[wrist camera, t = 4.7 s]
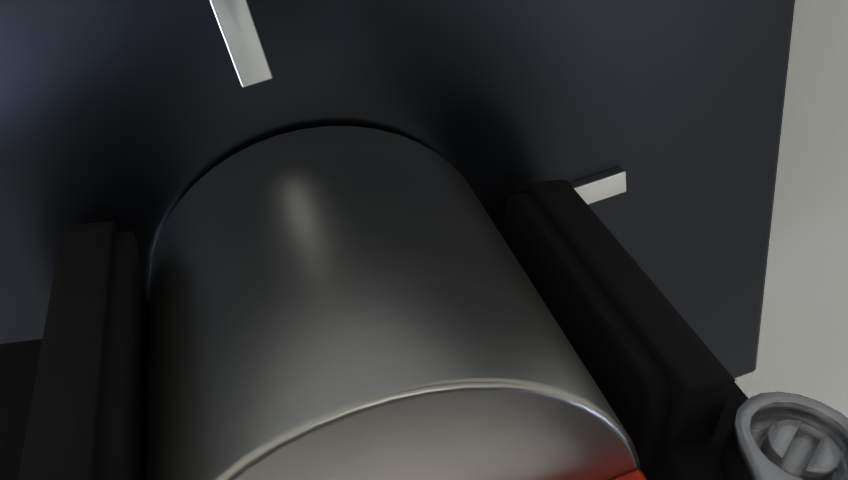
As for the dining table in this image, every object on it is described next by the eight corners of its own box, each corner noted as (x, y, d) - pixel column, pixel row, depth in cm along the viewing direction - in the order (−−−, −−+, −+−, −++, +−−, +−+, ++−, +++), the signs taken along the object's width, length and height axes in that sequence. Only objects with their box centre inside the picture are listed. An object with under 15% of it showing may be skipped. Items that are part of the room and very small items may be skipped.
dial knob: (222, 437, 12) (253, 790, 8) (84, 192, 9) (29, 557, 5) (505, 338, 12) (661, 627, 8) (459, 76, 9) (660, 332, 6)
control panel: (42, 500, 16) (20, 653, 13) (-429, -40, 9) (-657, 63, 6) (673, 278, 17) (761, 377, 15) (679, -332, 10) (844, -340, 8)
